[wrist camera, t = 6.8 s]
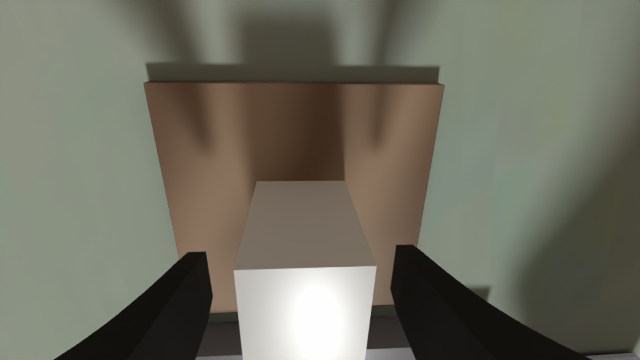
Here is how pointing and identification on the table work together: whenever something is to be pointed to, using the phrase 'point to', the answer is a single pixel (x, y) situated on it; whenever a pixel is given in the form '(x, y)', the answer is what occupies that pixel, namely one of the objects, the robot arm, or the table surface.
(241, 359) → the power strip
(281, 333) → the plug
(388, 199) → the walnut pad
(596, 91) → the table surface
